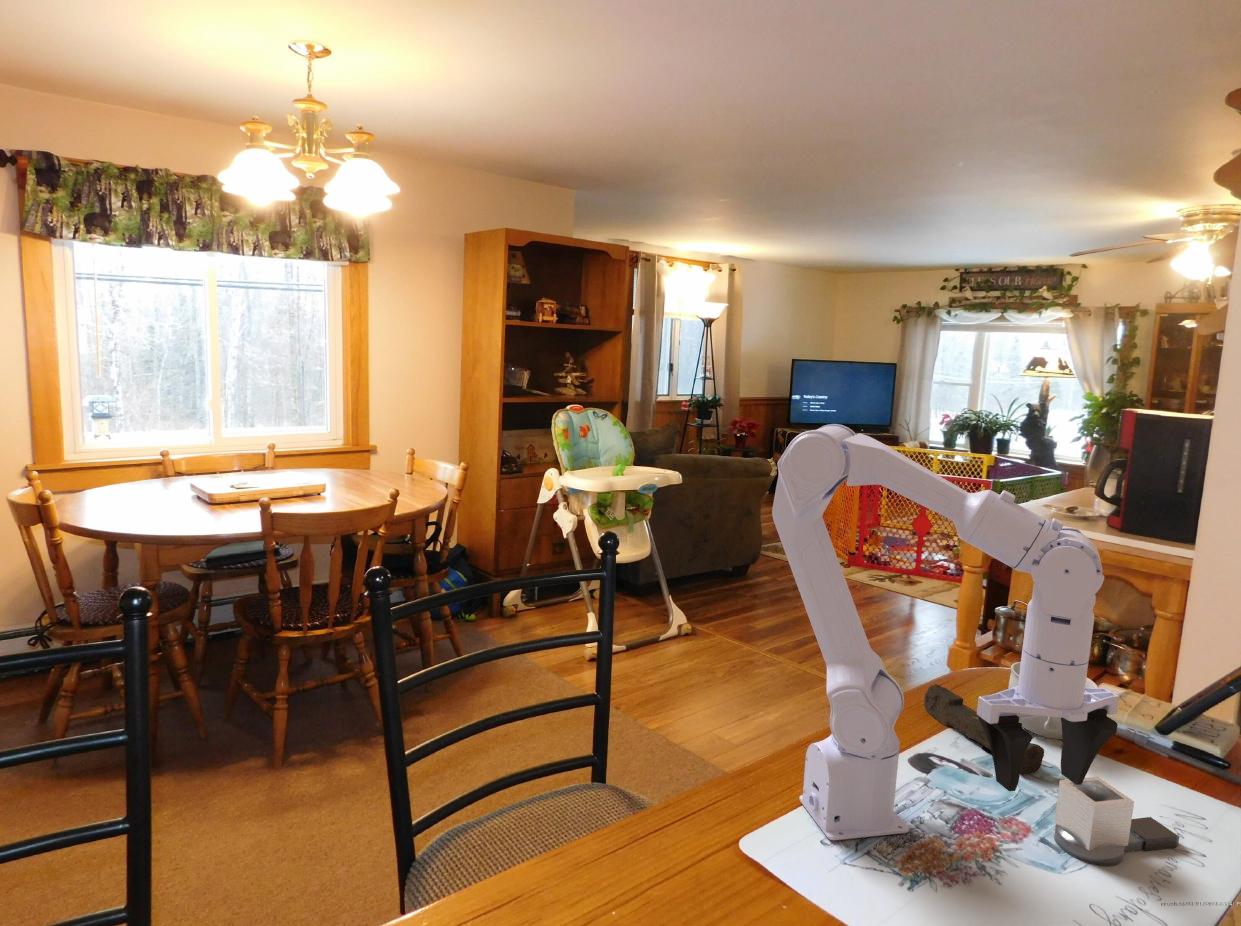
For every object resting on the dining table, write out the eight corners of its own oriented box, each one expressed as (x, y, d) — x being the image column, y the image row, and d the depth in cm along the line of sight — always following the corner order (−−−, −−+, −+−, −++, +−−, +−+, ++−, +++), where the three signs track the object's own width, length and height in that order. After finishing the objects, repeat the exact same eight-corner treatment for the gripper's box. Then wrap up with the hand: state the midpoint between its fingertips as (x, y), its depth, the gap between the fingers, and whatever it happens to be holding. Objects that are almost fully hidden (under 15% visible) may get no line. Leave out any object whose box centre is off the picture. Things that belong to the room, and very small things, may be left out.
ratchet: (1085, 870, 81) (1091, 829, 80) (1040, 831, 87) (1045, 793, 87) (1192, 856, 84) (1198, 817, 83) (1141, 820, 90) (1146, 783, 89)
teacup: (1012, 704, 119) (1018, 653, 117) (1095, 726, 112) (1103, 673, 111) (992, 740, 107) (999, 684, 106) (1084, 767, 101) (1092, 708, 100)
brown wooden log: (1044, 774, 100) (1048, 740, 99) (1019, 779, 98) (1023, 743, 98) (939, 707, 117) (942, 678, 117) (917, 710, 116) (920, 680, 115)
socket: (1088, 850, 82) (1094, 805, 81) (1054, 822, 86) (1059, 780, 86) (1127, 845, 83) (1134, 801, 82) (1091, 818, 87) (1097, 776, 87)
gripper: (1018, 674, 72) (1002, 812, 74) (1152, 666, 75) (1132, 798, 77) (969, 645, 79) (955, 771, 81) (1093, 638, 82) (1077, 760, 84)
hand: (1038, 782), depth 80 cm, fingers open, 7 cm apart
